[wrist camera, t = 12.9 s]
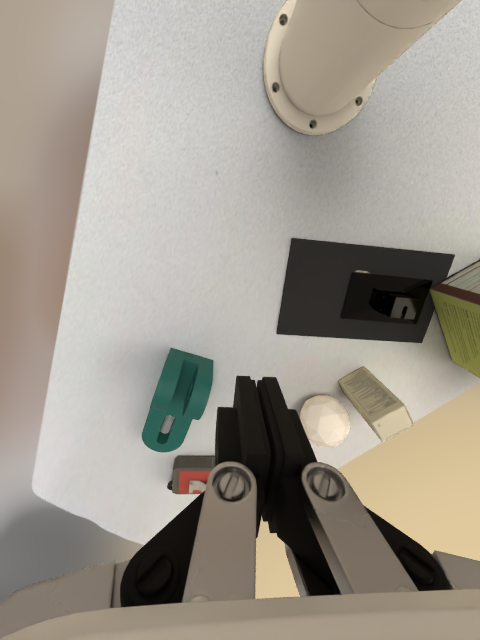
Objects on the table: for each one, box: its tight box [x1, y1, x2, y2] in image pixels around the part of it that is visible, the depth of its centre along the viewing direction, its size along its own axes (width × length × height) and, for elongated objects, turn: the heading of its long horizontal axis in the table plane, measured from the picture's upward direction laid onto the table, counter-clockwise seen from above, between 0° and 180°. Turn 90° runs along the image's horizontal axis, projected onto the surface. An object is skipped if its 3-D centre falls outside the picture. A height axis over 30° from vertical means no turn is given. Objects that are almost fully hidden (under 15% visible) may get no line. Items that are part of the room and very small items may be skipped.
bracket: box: [142, 348, 213, 452], centre depth 39 cm, size 18×7×8 cm, turn 158°
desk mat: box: [277, 238, 455, 343], centre depth 39 cm, size 14×24×1 cm, turn 84°
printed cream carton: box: [338, 367, 414, 442], centre depth 40 cm, size 5×4×10 cm
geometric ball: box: [300, 396, 351, 447], centre depth 42 cm, size 8×8×8 cm
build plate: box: [340, 270, 433, 324], centre depth 37 cm, size 12×7×5 cm, turn 84°
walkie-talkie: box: [167, 456, 215, 494], centre depth 47 cm, size 9×4×20 cm
